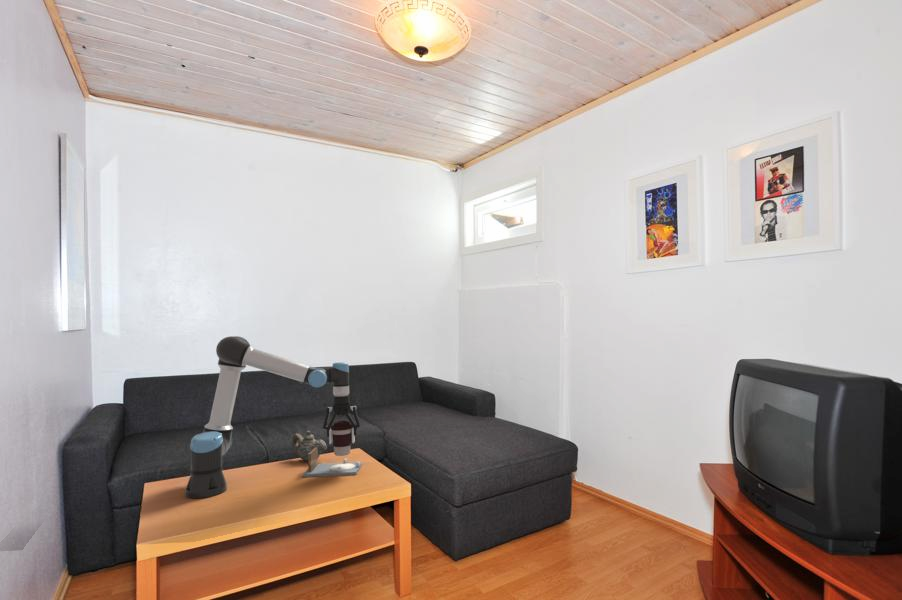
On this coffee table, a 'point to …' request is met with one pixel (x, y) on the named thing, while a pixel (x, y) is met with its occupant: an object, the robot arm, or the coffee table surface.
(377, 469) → the coffee table surface
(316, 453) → the panel
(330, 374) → the robot arm
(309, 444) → the teapot
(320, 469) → the grey flat slab
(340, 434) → the coffee cup
